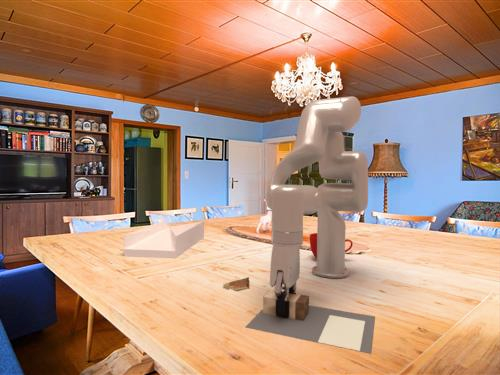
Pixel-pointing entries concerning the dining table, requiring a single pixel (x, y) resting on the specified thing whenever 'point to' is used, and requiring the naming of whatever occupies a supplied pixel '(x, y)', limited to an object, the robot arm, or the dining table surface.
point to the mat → (322, 328)
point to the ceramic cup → (314, 244)
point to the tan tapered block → (296, 305)
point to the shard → (238, 284)
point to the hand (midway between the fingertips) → (286, 311)
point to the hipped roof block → (162, 240)
